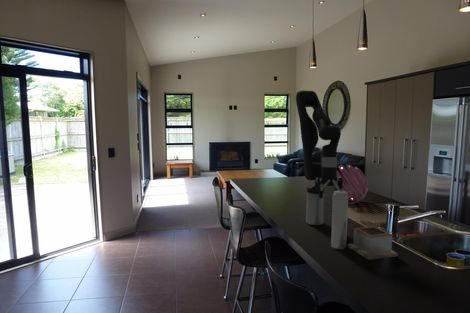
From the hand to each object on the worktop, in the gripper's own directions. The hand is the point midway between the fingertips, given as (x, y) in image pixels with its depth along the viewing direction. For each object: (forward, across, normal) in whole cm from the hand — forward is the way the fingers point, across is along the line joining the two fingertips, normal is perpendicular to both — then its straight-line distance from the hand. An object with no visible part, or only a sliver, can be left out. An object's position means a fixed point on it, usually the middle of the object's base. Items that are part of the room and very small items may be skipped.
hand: (328, 197), depth 158 cm
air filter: (+18, +6, +19) cm, 27 cm away
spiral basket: (+16, -45, -49) cm, 68 cm away
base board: (+18, -5, +27) cm, 33 cm away
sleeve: (+17, -5, +27) cm, 32 cm away
